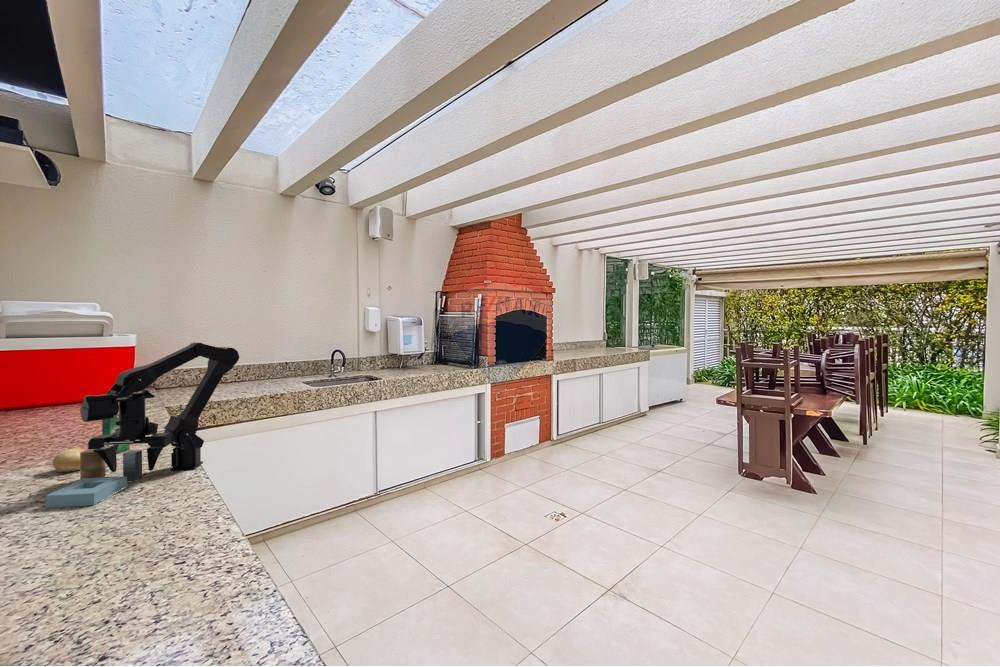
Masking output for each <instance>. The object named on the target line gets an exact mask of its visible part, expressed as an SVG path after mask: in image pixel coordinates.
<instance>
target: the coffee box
mask: <svg viewBox="0 0 1000 667" xmlns="http://www.w3.org/2000/svg"><path fill="white" fill-rule="evenodd" d="M117 421H119V413H118V414H117V415H115V416H114V417H113V418H112V419H105V420H102V421H101V422H102V423H101V429H102V431H101V435H102V434H116V435H117V436H119V425H116V422H117ZM125 441H130V440H125ZM130 446H131V444H119V446H118V448H117V451H116V454H119V453H123V452H126V451H130ZM125 450H126V451H125Z"/></svg>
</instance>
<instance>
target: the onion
mask: <svg viewBox="0 0 1000 667" xmlns="http://www.w3.org/2000/svg"><path fill="white" fill-rule="evenodd" d="M67 447H68V449H66V450H65V449H64V450H62V451H60V452H58V453H57V454H56V455H55V456H54V458H53V459H52V466H53V468H54V469H55V470H56V471H57V472H59V473H60V472H62V473H63V472H67V473H71V472H70V471H73V472H77V471H76V470H78V471H80V453H81V452H83V451H85V449H82V448H79V446H77V445H75V446H74V445H72V446H70V445H67Z"/></svg>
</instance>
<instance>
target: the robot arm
mask: <svg viewBox="0 0 1000 667" xmlns="http://www.w3.org/2000/svg"><path fill="white" fill-rule="evenodd" d="M199 357H202V358H205V359H208V360H207V369H206V372H205V374H204V375H203V377H202V379H201V380H200V382H199V384H198V385H197V387H196V388H195V390H194V392H193V393H192V396H191V397H190V398H189V401H188V402H187V404H186V406H185V408H184V409H183V411H182V412H181V413H179V414H178V415H177V416H176V415H175V416H174V415H171V416H170V417H169V420H168V422H167V423H166V425H165V426H163V429H164V431H163V432H158V429H159V423H156V422H151V421H150V419H149V416H146V413H147V412H146V399H153V398H155V397H156V396H155V395H154V394H153V393H151V392H150V391H149V390H148V389H147V388H148V387H150V386H151V385H152V384H154V383H155V382H156V381H157V380H158V379H159V378H160V377H161V376H163V375H165V374H167V373H169V372H171V371H173V370H174V369H176V368H179V367H180V366H182V365H185V364H186V363H188V362H190V361H192V360H195V359H196V358H199ZM239 359H240V353H239V352H238V350H237V349H235V348H233V347H228V346H227V347H226V346H219V347H218V346H213V345H210V344H206V343H204V342H191V343H190V344H189V345H187V346H185V347H183V348H181V349H178V350H176V351H174V352H173V353H170V354H168V355H166V356H164V357H162V358H160V359H157V360H156V361H154V362H151V363H147V364H145V365H141V366H136V367H134V368H130V369H126V370H124V371H121V372H120V373H119V374H118V375H117V376H116V378H115V383H114V384H113V385H112V386H111V387H110V388H109V389H108V390H107V392H106V393H105V394H97V395H93V394H91V395H90V394H88V395H84V396H83V401H82V404H81V407H79V408H80V417H81V420H82V422H84V423H89V422H97V421H101V420H105V419H112V418H113V417H114V416H115V415H117V414H119V421H117V422H116V425H119V436H117V435H116V434H102V433H101V434H99V435H97V436H94V437H92V438H90V439H89V440H88V442H87V450H92V449H95V450H93V452H97V453H98V454H99V455H100V457H101V458H102V459H103V460H104V461H105V465H107V467H108V468H109V470H110V472H111V473H116V472H117V469H118V468H117V467H118V462H117V453H116V451H117V448H118V446H119V444H130V445H133V444H135V445H137V444H138V445H140V444H147V445H148V446H149V447H147V448H146V454H147V455H146V456H147V466H148V470H149V472H152V471H153V470H154V468H155V466H156V463H157V461H158V458H159V457H160V454H161V452H162V450H163V449H164V448H165V447H167V446H170V445H171V447H173V448H172V452H171V453H170V454H171V455H170V456H171V457H170V459H171V460H170V462H171V463H170V464H171V465H170V466H171V467H170V468H169V471H185V470H187V471H189V470H194V469H196V468H199V466H201V465H203V464H204V461H201V460H202V458H201V455H202V453H201V450H202V449H201V448H203V445H204V442H205V440H204V439H203V438H201V437H200V436H198V435H197V431H198V429H199V422H200V421H199V419H200V416H201V414H202V413H203V412H204V409H205V408H206V406H207V404H208V403H209V401H210V399H211V398H212V395H214V392H215V390H216V388H217V387H218V385H219V384H220V382H221V380H222V378H223V377H224V376H225V375H226V374H227V373H228V372H229V371H231V370H232V369H233V368H234V366H235V365H236V364H237V363H238V362H239ZM149 435H150V436H149ZM125 440H130V441H125ZM200 464H201V465H200Z"/></svg>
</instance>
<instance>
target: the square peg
mask: <svg viewBox="0 0 1000 667" xmlns="http://www.w3.org/2000/svg"><path fill="white" fill-rule="evenodd" d="M122 462H123V463H122V474H123V475H122V476H127V481H136V482H137V480H138V481H139V480H141V479H143V450H142V449H138V450H137V449H136V450H135V449H134V450H130V449H129V450H127V451H124V452H122ZM140 478H141V479H140Z"/></svg>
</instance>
